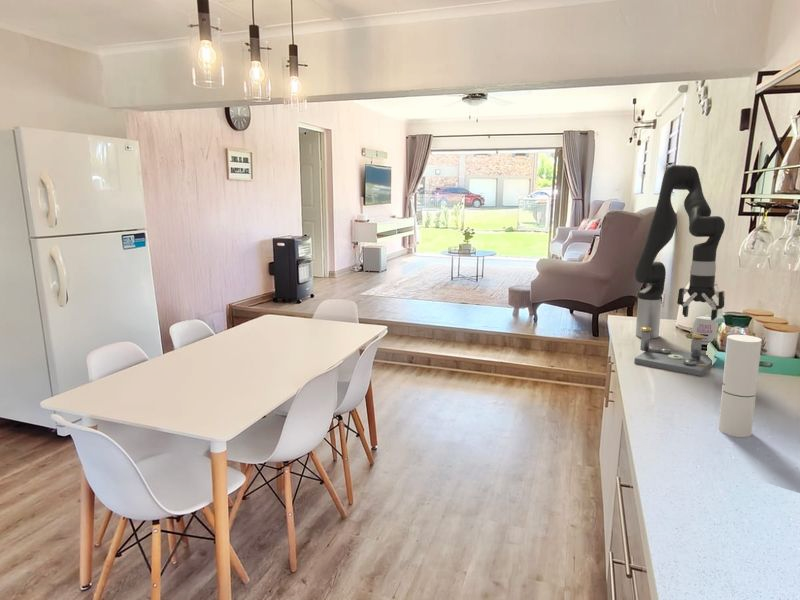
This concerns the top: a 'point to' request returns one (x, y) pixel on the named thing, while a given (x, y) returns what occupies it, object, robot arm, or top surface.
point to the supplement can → (705, 330)
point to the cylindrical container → (739, 385)
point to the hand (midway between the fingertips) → (699, 318)
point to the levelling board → (674, 361)
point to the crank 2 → (694, 350)
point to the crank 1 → (645, 342)
